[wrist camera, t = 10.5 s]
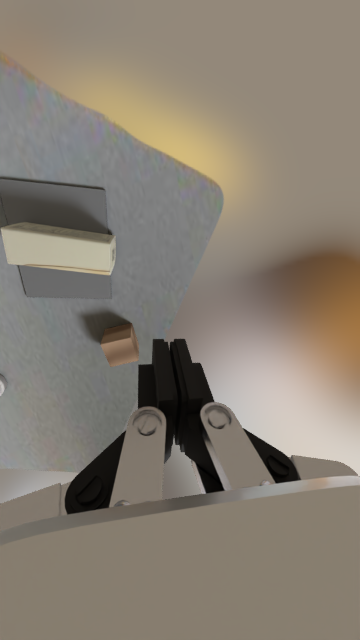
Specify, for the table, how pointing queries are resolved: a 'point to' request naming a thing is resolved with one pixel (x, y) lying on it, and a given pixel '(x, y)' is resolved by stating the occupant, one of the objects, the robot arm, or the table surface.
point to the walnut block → (120, 345)
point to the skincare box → (59, 248)
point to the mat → (66, 212)
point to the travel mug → (2, 384)
